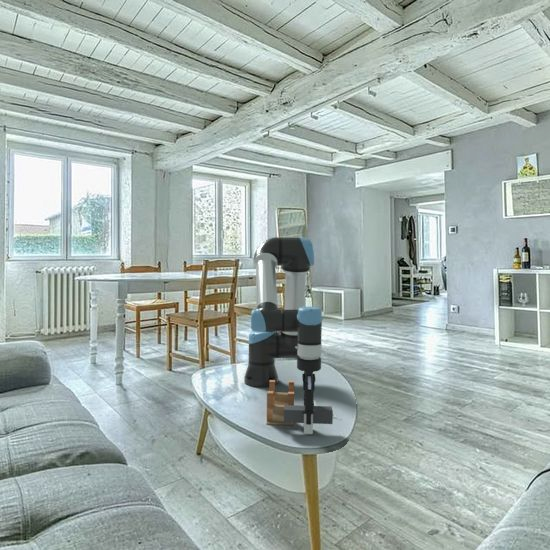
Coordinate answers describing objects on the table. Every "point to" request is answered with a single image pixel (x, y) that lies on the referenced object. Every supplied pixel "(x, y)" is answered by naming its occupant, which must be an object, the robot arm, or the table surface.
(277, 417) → the wooden ladder frame
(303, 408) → the bar
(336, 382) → the table surface
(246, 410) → the table surface
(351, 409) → the table surface
